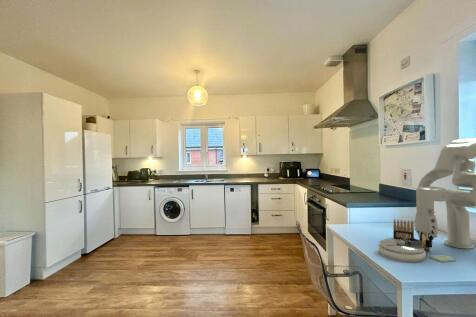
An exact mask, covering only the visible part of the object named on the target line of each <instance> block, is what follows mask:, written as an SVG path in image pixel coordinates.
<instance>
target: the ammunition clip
mask: <svg viewBox="0 0 476 317" xmlns="http://www.w3.org/2000/svg"><path fill="white" fill-rule="evenodd" d="M403 220H404V221H403ZM414 227H415V226H414V221H413V220H411V221H410V220H407V221H406V220H405V219H400V221H399V219H397V221H396V218H394V219H393V227H392V228H393V229H392V230H393V232H392V233H393V234H392V238H394V239H396V240H400V239H401V240H403V238H415V228H414Z"/></svg>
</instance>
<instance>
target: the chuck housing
mask: <svg viewBox="0 0 476 317" xmlns="http://www.w3.org/2000/svg"><path fill="white" fill-rule="evenodd" d="M378 253H379V255H381V256H382V257H385V258H387V259H389V260H393V261H398V262H402V263H403V262H404V263H412V264H415V263H416V264H417V263H423V262H425V261H426V260H427V259H426V252H425V250H424V253H422V254H401V253H396V252H391V251H388V250H385V249H383V248H382V247H380V243H379V244H378Z"/></svg>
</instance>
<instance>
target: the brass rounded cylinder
mask: <svg viewBox="0 0 476 317" xmlns="http://www.w3.org/2000/svg"><path fill="white" fill-rule="evenodd" d="M426 240H427V239H426V234H425V233H422V246H423V247H424V250H425V253H429V252H430V249H431V248H426Z"/></svg>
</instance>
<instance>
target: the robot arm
mask: <svg viewBox="0 0 476 317" xmlns="http://www.w3.org/2000/svg"><path fill="white" fill-rule="evenodd" d="M475 158H476V137H475V138H463V139H455V140H452V141H451V142H450V144H447V145H445V146H443V147H442V148H441V150H440V153H439V155H438V158H437V160H436V163H435V166H434V167H433V169H431V170H430V171H429V172H427V173H426V174H424V176H423V177H422V178H421V179H420V181H419V182H418V186H417V188H416V191H415V194H416V195H415V196H416V201H415V202H416V204H415V205H416V213H415V219H414V220H415V221H414V227H415V228H414V232H416V233H417V236H418V238H419V239H418V240H420V241H422V233H425V234H426V239H427V240H426V248H430V249H431V248H433V241H434V239H435V238H438V233H439V232H438V221H437V216H436V215H435V202H439V203H441V202H445V205H446V220H447V221H446V223H447V224H446V227H447V228H446V229H447V230H446V231H447V232H446V233H447V234H446V235H447V239H445V240H444V241H443V244H445V245H446V246H449V247H454V248H458V249H463V250H464V249H465V250H466V249H469V250H471V249H473V248H475V246H474V244H472V243H476V238H472V237H471V236H470V214H469V212H468V210H467V208H471V209H476V170H475V169H476V162H475V160H474V159H475ZM449 176H452V178H451V183H452V184H453V185H454V186H455V187H459V188H448V189H446V188H445V187H440V186H431V185H432V184H433V183H435V182H436V181H438V180H441V179H443V178H447V177H449ZM465 188H466V189H465Z"/></svg>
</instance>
